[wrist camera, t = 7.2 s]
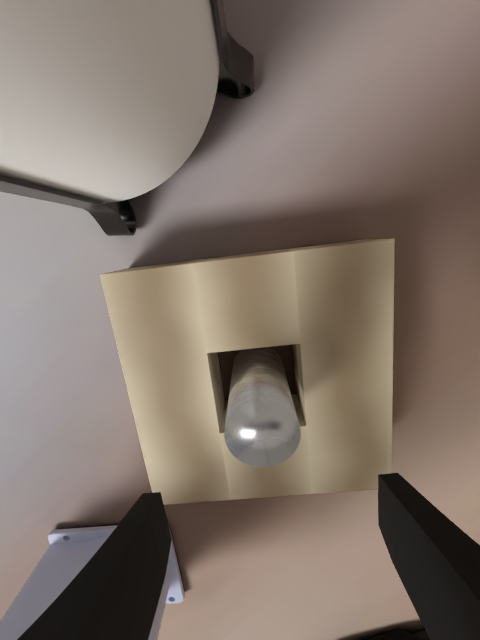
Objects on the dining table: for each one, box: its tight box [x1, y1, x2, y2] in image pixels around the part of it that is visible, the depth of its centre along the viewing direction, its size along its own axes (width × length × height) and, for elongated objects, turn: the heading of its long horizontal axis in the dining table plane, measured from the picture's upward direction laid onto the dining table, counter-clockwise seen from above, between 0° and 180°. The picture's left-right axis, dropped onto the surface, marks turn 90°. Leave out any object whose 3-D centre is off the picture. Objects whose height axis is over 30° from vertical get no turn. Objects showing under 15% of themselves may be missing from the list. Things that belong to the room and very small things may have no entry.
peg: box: [224, 347, 301, 467], centre depth 16 cm, size 3×3×7 cm
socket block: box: [100, 239, 395, 505], centre depth 17 cm, size 14×14×4 cm
